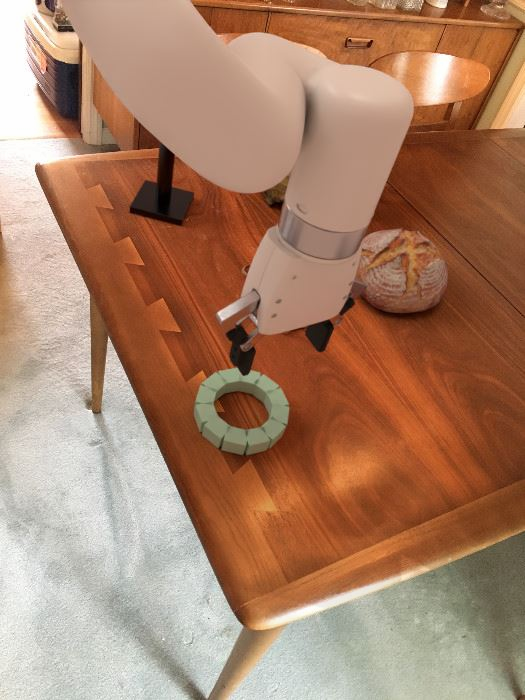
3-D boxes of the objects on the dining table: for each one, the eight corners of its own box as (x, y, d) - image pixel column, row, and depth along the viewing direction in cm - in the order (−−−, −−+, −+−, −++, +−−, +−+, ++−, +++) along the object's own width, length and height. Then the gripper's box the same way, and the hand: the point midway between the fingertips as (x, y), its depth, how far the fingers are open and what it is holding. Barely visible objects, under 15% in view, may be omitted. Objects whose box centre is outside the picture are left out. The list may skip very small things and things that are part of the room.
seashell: (320, 233, 103) (342, 187, 96) (247, 203, 102) (264, 154, 95) (327, 204, 111) (348, 159, 104) (260, 176, 110) (276, 129, 103)
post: (129, 212, 94) (131, 145, 85) (144, 185, 100) (148, 120, 91) (181, 225, 94) (189, 160, 85) (193, 198, 100) (201, 134, 91)
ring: (184, 441, 66) (186, 431, 64) (205, 369, 74) (207, 359, 72) (279, 464, 66) (283, 454, 65) (289, 390, 74) (293, 380, 73)
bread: (331, 299, 91) (346, 249, 83) (365, 240, 104) (380, 192, 97) (428, 337, 87) (452, 288, 80) (449, 271, 101) (472, 224, 94)
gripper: (372, 188, 54) (322, 313, 66) (213, 211, 46) (191, 349, 58) (421, 235, 50) (359, 358, 62) (257, 269, 42) (223, 403, 54)
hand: (278, 354), depth 60 cm, fingers open, 9 cm apart
